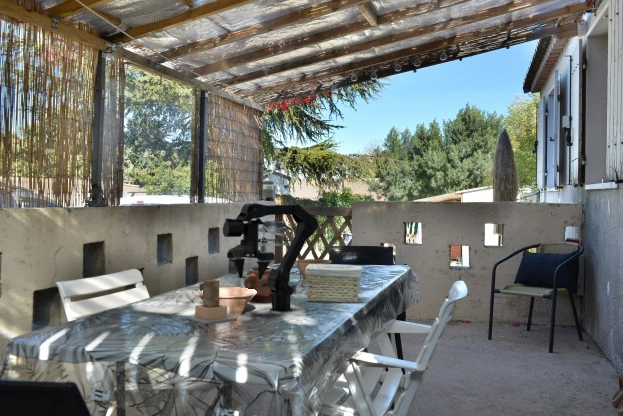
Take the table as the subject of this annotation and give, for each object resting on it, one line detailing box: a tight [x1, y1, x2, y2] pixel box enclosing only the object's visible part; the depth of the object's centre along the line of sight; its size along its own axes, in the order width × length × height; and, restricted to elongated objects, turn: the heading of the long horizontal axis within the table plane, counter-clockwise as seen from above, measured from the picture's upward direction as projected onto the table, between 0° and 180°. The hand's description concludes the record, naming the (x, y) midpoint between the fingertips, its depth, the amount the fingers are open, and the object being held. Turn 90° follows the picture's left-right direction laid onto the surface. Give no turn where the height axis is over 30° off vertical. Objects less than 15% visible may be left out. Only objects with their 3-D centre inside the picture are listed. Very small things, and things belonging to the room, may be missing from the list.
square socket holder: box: [185, 304, 238, 326], centre depth 213 cm, size 13×13×5 cm
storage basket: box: [304, 263, 363, 304], centre depth 259 cm, size 24×16×15 cm
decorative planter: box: [244, 267, 274, 303], centre depth 252 cm, size 20×12×14 cm, turn 152°
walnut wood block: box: [202, 279, 220, 308], centre depth 212 cm, size 4×4×13 cm
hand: (250, 278), depth 226 cm, fingers open, 9 cm apart
